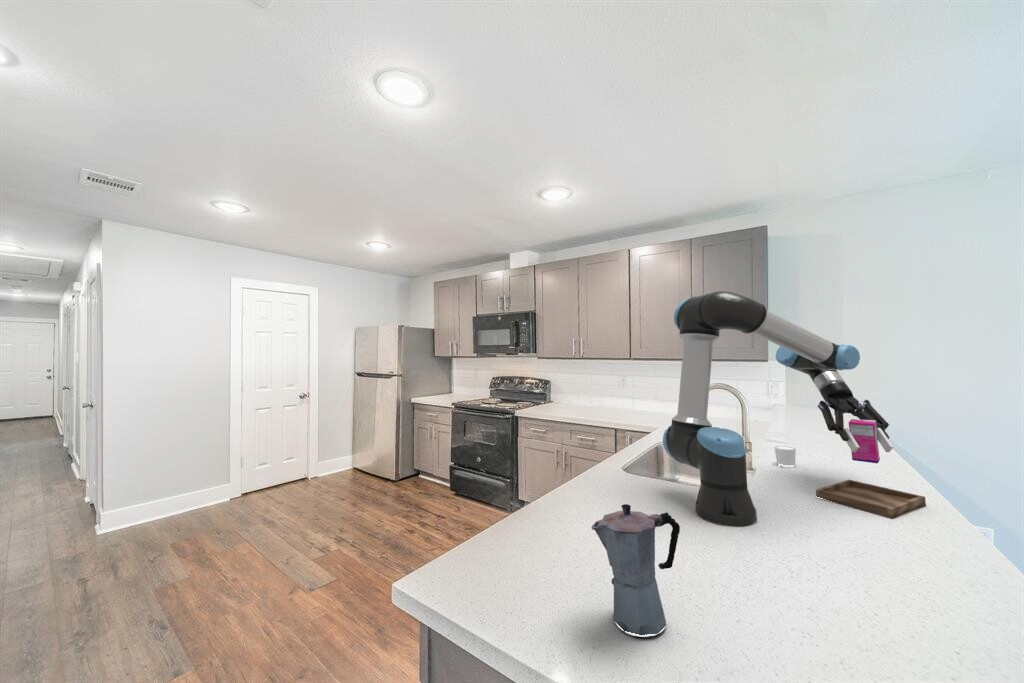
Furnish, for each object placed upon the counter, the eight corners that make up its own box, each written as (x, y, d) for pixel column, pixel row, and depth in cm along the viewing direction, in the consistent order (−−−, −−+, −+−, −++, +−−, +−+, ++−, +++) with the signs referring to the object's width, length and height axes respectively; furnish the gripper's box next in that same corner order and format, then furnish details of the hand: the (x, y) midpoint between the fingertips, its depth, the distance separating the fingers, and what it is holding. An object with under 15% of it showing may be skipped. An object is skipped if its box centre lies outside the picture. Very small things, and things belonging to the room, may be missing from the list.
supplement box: (853, 456, 119) (851, 418, 119) (880, 459, 114) (877, 420, 115) (850, 460, 115) (848, 421, 115) (878, 463, 110) (875, 423, 111)
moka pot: (589, 607, 72) (583, 497, 73) (669, 599, 73) (663, 491, 74) (606, 645, 62) (599, 518, 63) (698, 635, 64) (690, 511, 64)
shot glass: (800, 468, 147) (799, 450, 148) (780, 468, 149) (779, 449, 149) (791, 463, 154) (790, 445, 154) (772, 463, 156) (771, 445, 156)
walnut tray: (892, 518, 102) (891, 509, 102) (816, 497, 119) (815, 489, 119) (925, 505, 109) (925, 496, 110) (849, 487, 126) (848, 479, 126)
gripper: (863, 394, 129) (908, 456, 112) (794, 396, 132) (827, 456, 116) (874, 379, 124) (922, 442, 107) (801, 382, 127) (837, 442, 111)
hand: (872, 449), depth 111 cm, fingers closed on supplement box, 8 cm apart
